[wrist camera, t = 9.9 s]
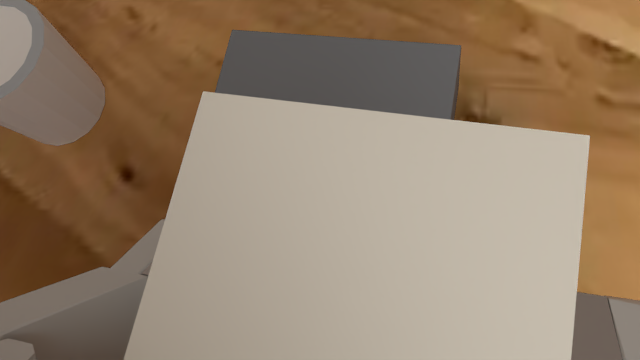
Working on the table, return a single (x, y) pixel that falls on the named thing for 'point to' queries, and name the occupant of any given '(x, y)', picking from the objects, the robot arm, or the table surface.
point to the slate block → (343, 72)
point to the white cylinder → (44, 79)
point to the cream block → (364, 238)
